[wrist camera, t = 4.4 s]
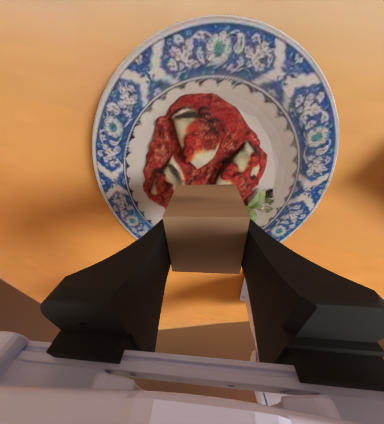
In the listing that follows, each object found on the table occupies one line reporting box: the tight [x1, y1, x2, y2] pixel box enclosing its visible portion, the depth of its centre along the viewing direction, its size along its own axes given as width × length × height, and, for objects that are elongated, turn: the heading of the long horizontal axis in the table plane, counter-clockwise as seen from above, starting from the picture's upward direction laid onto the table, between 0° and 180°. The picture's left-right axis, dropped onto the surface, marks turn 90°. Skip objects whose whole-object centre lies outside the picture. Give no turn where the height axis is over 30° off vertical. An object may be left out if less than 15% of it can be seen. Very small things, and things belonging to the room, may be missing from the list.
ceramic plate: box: [92, 15, 339, 243], centre depth 17 cm, size 26×26×3 cm
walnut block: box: [162, 184, 250, 274], centre depth 11 cm, size 4×4×4 cm
